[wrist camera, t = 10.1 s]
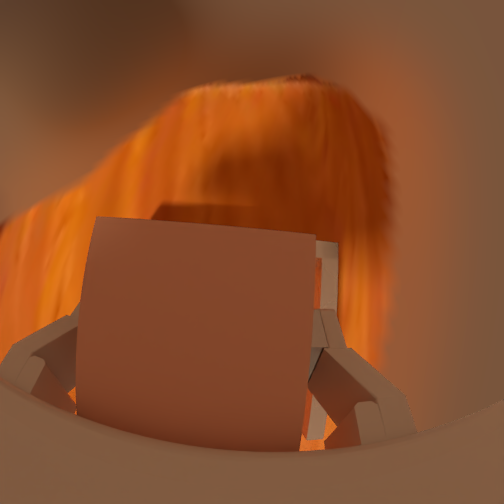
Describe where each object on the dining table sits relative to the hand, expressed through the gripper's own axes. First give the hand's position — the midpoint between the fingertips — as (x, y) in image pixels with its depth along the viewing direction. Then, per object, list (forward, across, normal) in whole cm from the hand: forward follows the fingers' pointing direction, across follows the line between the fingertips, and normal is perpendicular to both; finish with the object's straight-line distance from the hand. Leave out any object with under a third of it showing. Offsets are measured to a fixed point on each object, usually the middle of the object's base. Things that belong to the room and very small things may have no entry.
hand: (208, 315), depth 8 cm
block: (+3, 0, +4) cm, 4 cm away
